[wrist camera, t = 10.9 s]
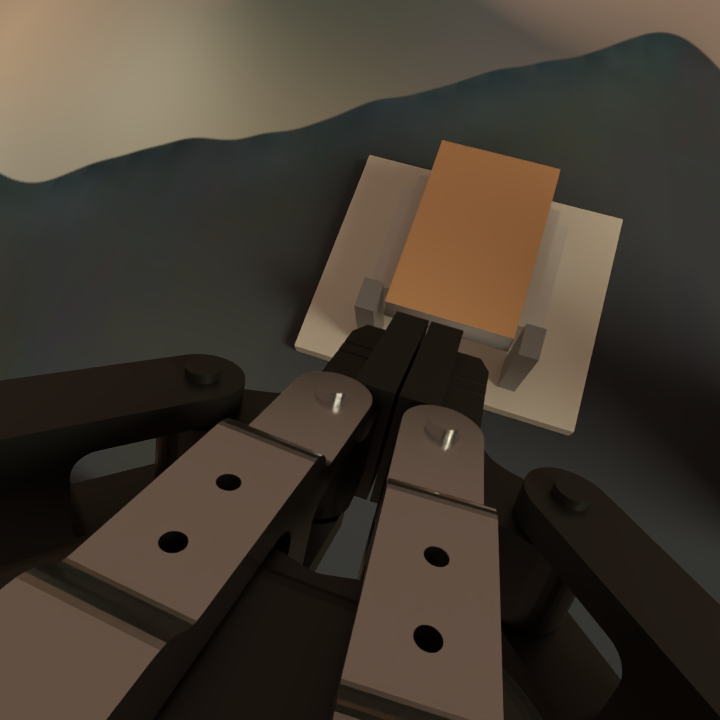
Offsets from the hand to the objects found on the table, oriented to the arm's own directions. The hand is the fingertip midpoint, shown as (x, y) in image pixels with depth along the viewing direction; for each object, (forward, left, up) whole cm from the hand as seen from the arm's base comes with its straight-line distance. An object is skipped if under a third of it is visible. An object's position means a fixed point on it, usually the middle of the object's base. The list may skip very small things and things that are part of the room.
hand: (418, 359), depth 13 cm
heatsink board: (0, -16, -28) cm, 32 cm away
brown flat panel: (0, -10, -21) cm, 23 cm away
